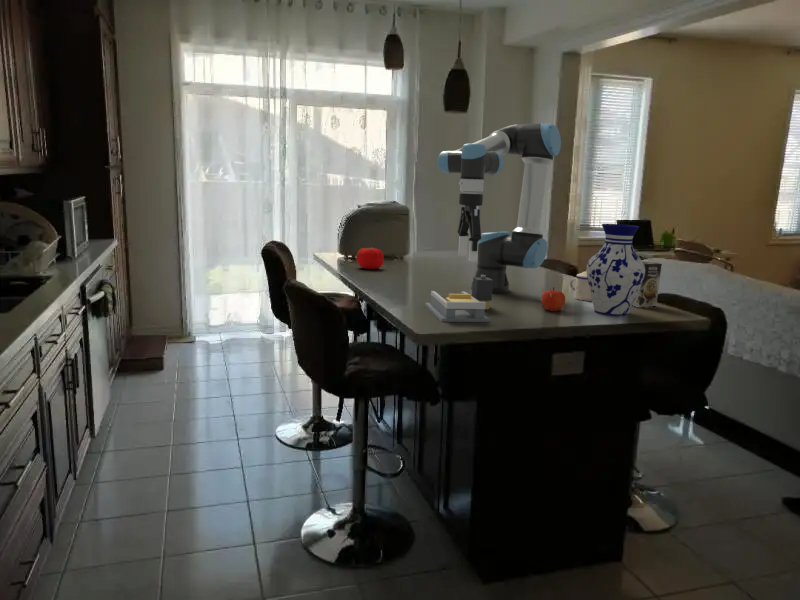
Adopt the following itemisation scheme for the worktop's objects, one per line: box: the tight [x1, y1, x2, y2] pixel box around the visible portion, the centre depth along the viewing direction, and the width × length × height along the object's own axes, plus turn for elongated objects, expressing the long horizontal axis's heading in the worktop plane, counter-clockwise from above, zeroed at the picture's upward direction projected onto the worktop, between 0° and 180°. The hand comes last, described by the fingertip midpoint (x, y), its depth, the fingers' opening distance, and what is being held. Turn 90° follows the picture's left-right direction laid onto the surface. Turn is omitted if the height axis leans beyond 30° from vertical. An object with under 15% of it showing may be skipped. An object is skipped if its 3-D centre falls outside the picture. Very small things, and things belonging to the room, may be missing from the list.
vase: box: [586, 223, 645, 317], centre depth 217 cm, size 19×19×30 cm
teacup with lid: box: [569, 269, 592, 302], centre depth 244 cm, size 12×9×12 cm
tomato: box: [356, 246, 385, 270], centre depth 298 cm, size 11×13×10 cm
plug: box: [471, 275, 493, 310], centre depth 217 cm, size 5×5×11 cm
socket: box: [424, 290, 490, 323], centre depth 206 cm, size 15×24×6 cm, turn 10°
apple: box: [540, 286, 566, 312], centre depth 219 cm, size 8×8×8 cm
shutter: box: [445, 293, 478, 302], centre depth 199 cm, size 9×7×3 cm
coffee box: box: [632, 261, 663, 308], centre depth 234 cm, size 9×6×16 cm
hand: (467, 258), depth 210 cm, fingers open, 13 cm apart
